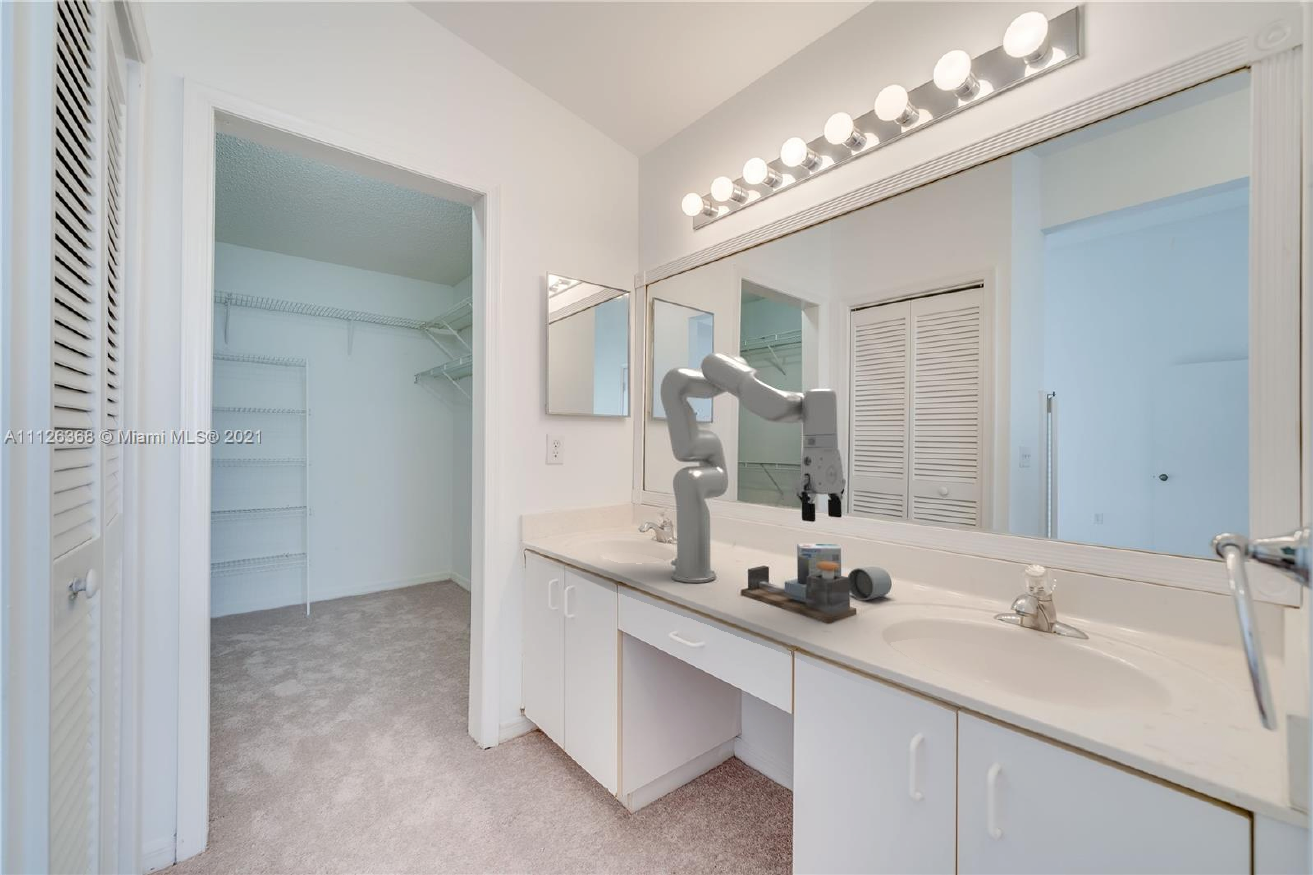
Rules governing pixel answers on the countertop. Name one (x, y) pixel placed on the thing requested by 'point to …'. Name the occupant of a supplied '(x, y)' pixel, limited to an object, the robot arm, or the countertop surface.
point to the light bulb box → (820, 555)
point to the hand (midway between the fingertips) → (822, 518)
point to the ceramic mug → (869, 583)
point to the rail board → (822, 595)
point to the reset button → (827, 569)
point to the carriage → (799, 580)
